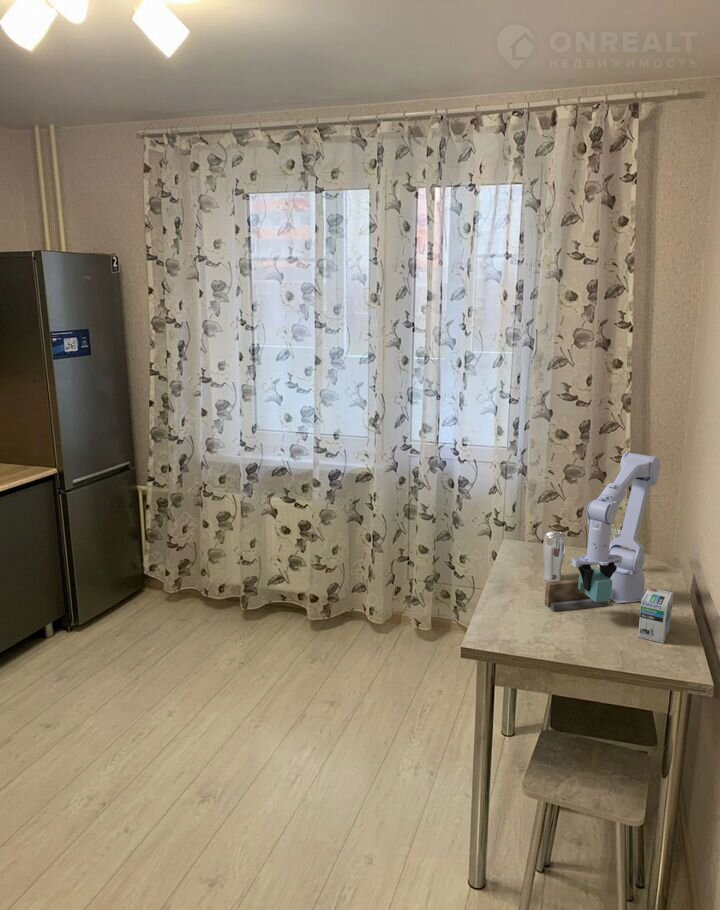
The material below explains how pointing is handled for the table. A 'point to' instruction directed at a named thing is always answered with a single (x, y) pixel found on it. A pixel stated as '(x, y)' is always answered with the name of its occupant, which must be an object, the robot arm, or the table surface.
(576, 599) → the brown wooden ledge block
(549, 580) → the beer glass
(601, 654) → the table surface
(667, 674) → the table surface
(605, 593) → the teal rectangular block
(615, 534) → the flower in vase
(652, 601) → the light bulb box
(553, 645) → the table surface
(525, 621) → the table surface
